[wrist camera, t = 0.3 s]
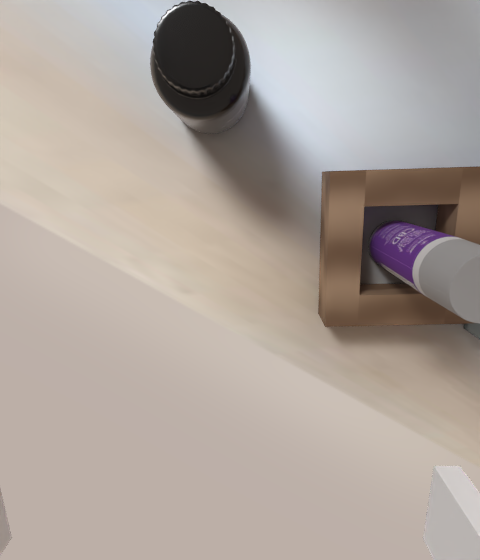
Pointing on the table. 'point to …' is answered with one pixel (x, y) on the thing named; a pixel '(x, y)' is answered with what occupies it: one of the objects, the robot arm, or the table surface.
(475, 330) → the tray
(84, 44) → the table surface
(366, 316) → the block
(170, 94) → the supplement bottle
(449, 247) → the container
